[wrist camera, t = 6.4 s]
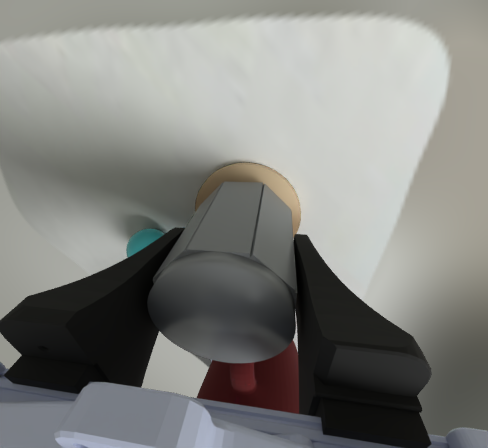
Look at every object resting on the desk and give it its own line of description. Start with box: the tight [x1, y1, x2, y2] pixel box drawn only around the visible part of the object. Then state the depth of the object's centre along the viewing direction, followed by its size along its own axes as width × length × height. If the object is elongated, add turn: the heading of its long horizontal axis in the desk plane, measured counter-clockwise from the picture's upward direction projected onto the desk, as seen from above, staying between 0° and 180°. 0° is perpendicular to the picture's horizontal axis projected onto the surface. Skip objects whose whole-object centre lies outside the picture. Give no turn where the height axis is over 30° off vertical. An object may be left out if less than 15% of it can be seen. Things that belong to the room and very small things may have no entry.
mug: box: [197, 340, 299, 414], centre depth 17 cm, size 10×8×10 cm
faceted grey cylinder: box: [147, 181, 297, 363], centre depth 12 cm, size 6×6×7 cm
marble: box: [126, 229, 164, 257], centre depth 17 cm, size 3×3×3 cm
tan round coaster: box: [195, 163, 301, 238], centre depth 15 cm, size 7×7×1 cm
